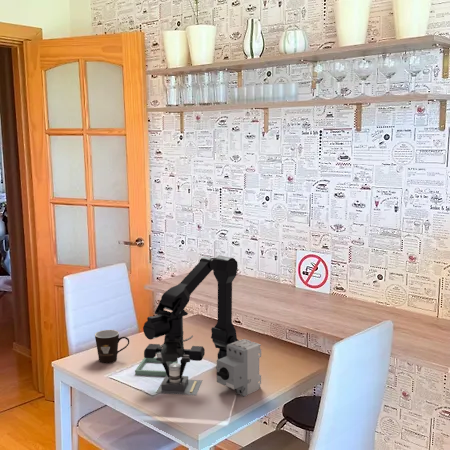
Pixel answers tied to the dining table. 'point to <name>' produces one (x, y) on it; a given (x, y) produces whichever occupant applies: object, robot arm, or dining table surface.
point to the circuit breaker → (240, 367)
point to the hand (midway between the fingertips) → (174, 377)
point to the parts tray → (150, 372)
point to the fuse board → (180, 386)
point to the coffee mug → (108, 345)
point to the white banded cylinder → (174, 373)
